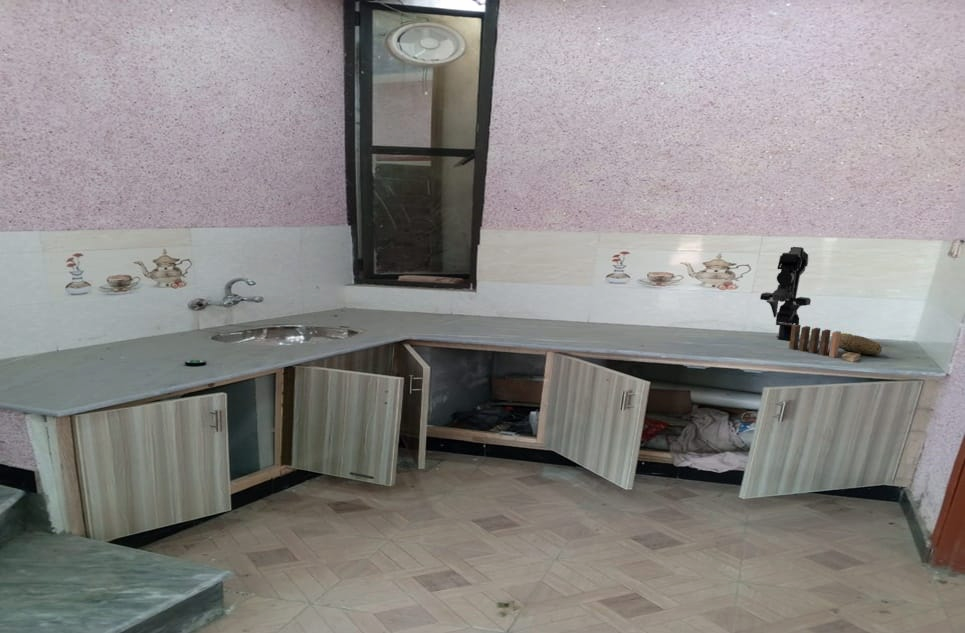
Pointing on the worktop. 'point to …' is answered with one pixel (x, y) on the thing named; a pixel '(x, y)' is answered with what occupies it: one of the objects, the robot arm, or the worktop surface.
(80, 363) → the worktop surface
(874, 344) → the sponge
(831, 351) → the domino
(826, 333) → the domino
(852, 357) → the stop block
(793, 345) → the brown rectangular block
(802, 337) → the domino
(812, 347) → the domino
